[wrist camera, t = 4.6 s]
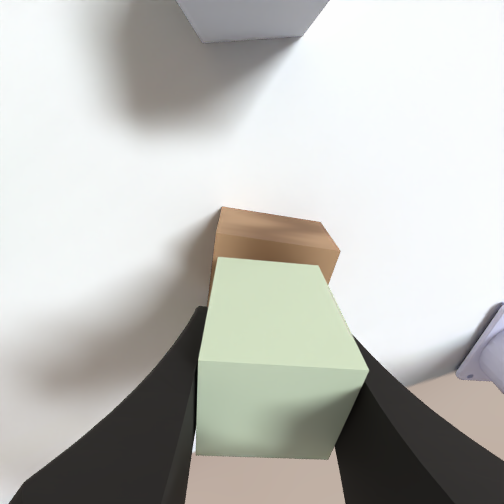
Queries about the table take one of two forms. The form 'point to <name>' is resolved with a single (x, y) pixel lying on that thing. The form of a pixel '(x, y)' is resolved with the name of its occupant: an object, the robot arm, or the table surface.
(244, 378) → the sage block
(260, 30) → the slate block
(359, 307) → the table surface
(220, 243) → the walnut plinth
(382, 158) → the table surface
